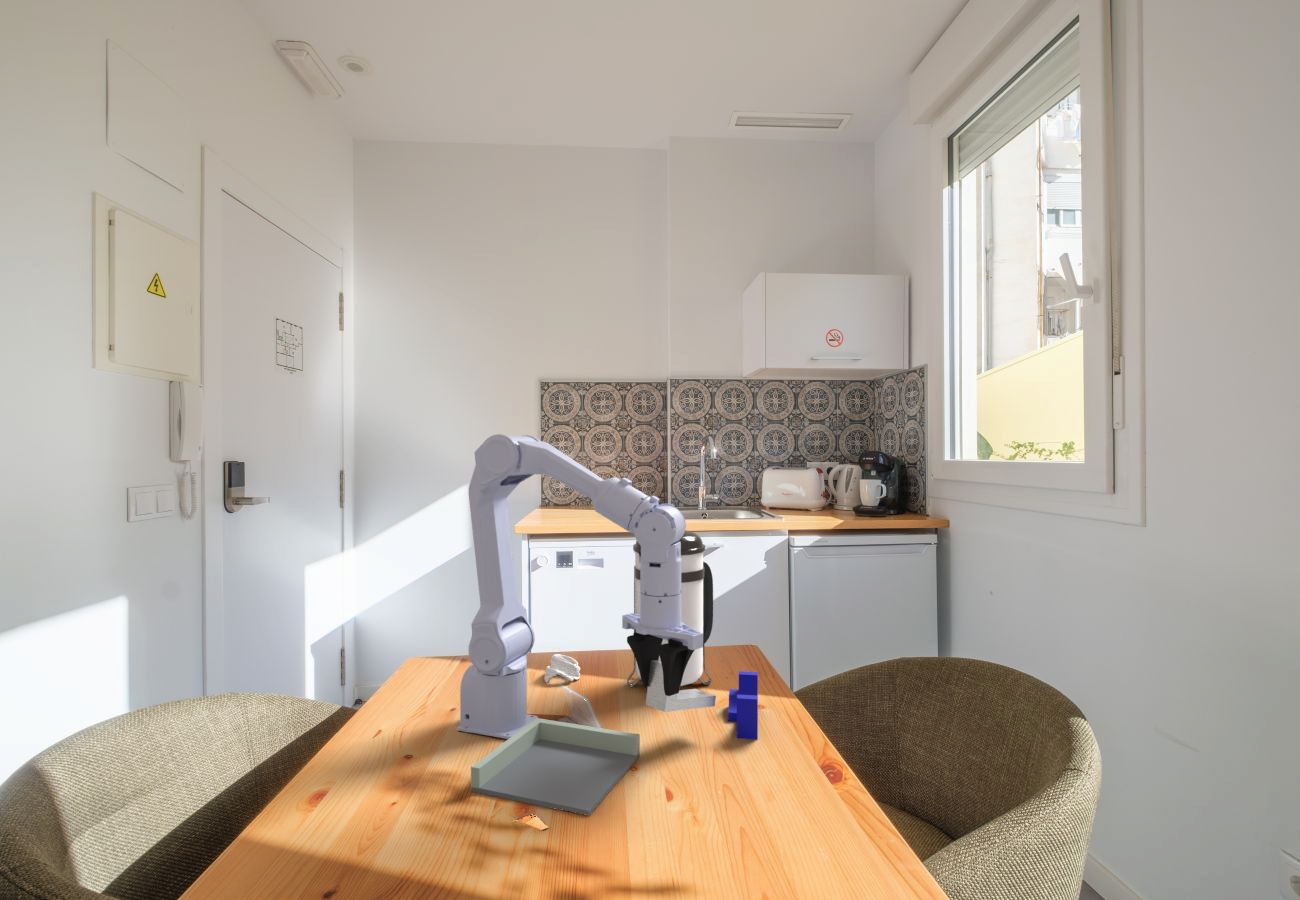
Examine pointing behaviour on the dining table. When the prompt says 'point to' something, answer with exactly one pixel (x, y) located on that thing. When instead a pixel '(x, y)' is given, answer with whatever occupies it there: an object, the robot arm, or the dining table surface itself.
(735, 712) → the cable clip
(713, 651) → the dining table surface
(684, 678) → the coffee press
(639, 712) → the dining table surface
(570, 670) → the whipped cream
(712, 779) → the dining table surface
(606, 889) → the dining table surface
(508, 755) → the corner tray
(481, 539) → the robot arm
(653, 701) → the brushed metal block
